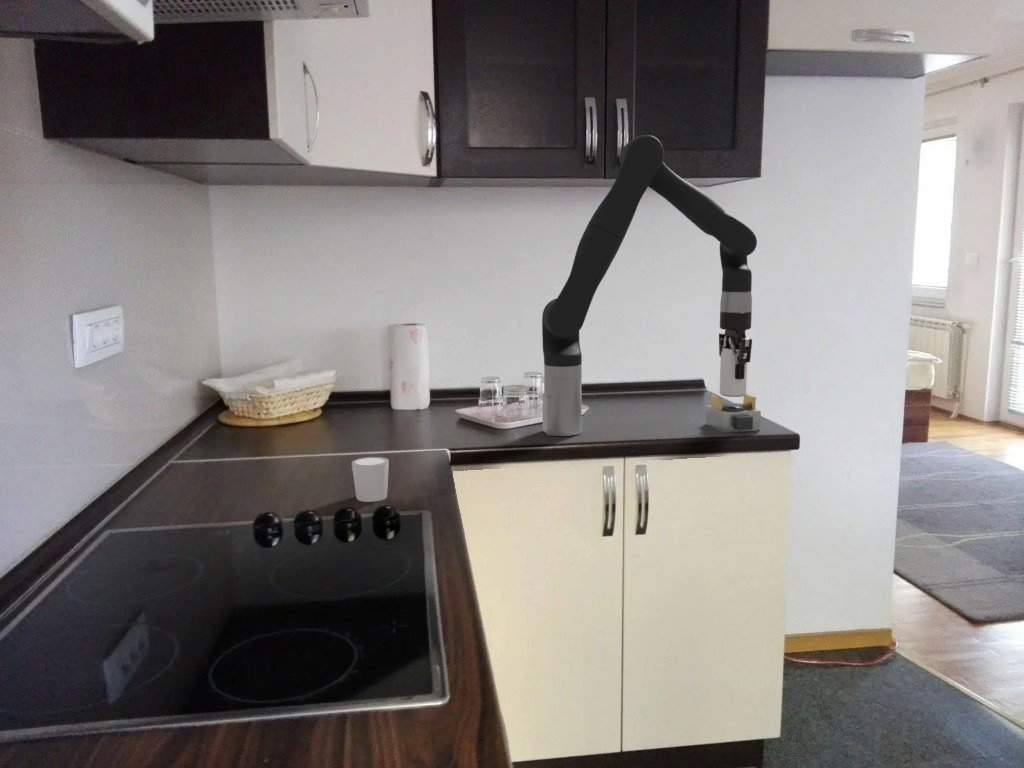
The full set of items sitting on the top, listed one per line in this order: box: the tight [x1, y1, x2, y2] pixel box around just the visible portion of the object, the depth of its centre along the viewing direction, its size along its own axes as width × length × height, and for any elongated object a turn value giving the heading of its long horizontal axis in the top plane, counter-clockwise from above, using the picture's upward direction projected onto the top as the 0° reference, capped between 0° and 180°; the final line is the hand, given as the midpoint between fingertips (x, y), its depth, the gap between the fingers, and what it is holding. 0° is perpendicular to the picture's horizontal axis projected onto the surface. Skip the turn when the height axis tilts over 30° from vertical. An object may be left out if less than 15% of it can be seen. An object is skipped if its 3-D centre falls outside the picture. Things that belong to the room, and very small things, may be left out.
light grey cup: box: [351, 456, 390, 503], centre depth 150 cm, size 7×7×7 cm
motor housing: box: [705, 393, 762, 433], centre depth 201 cm, size 10×12×8 cm
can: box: [719, 347, 748, 398], centre depth 201 cm, size 6×6×12 cm
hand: (733, 376), depth 201 cm, fingers closed on can, 6 cm apart
